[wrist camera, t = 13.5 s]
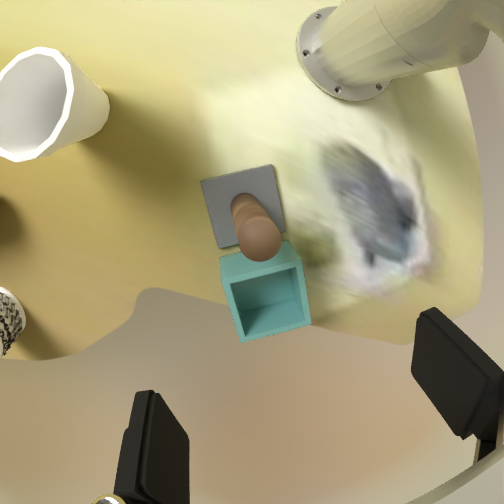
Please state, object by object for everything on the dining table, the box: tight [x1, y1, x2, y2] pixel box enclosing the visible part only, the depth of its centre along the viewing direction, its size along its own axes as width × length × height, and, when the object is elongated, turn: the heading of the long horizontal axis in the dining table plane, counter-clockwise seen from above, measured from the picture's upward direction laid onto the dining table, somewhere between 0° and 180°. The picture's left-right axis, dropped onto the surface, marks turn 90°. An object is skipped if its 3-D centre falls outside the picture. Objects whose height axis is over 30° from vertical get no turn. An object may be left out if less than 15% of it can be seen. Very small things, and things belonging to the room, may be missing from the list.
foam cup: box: [0, 47, 110, 162], centre depth 22 cm, size 10×9×13 cm
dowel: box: [230, 193, 282, 262], centre depth 28 cm, size 3×3×12 cm
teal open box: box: [220, 240, 311, 343], centre depth 35 cm, size 8×8×6 cm
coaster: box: [201, 164, 286, 249], centre depth 34 cm, size 8×8×1 cm
